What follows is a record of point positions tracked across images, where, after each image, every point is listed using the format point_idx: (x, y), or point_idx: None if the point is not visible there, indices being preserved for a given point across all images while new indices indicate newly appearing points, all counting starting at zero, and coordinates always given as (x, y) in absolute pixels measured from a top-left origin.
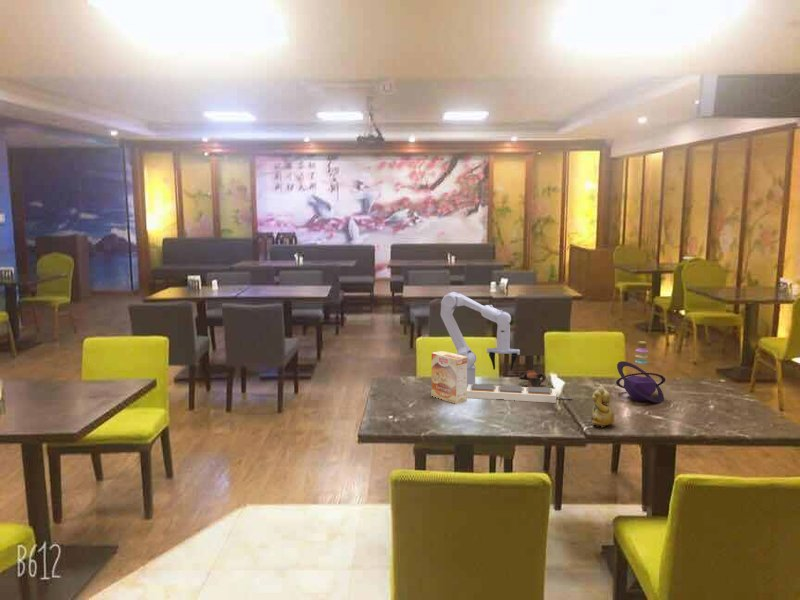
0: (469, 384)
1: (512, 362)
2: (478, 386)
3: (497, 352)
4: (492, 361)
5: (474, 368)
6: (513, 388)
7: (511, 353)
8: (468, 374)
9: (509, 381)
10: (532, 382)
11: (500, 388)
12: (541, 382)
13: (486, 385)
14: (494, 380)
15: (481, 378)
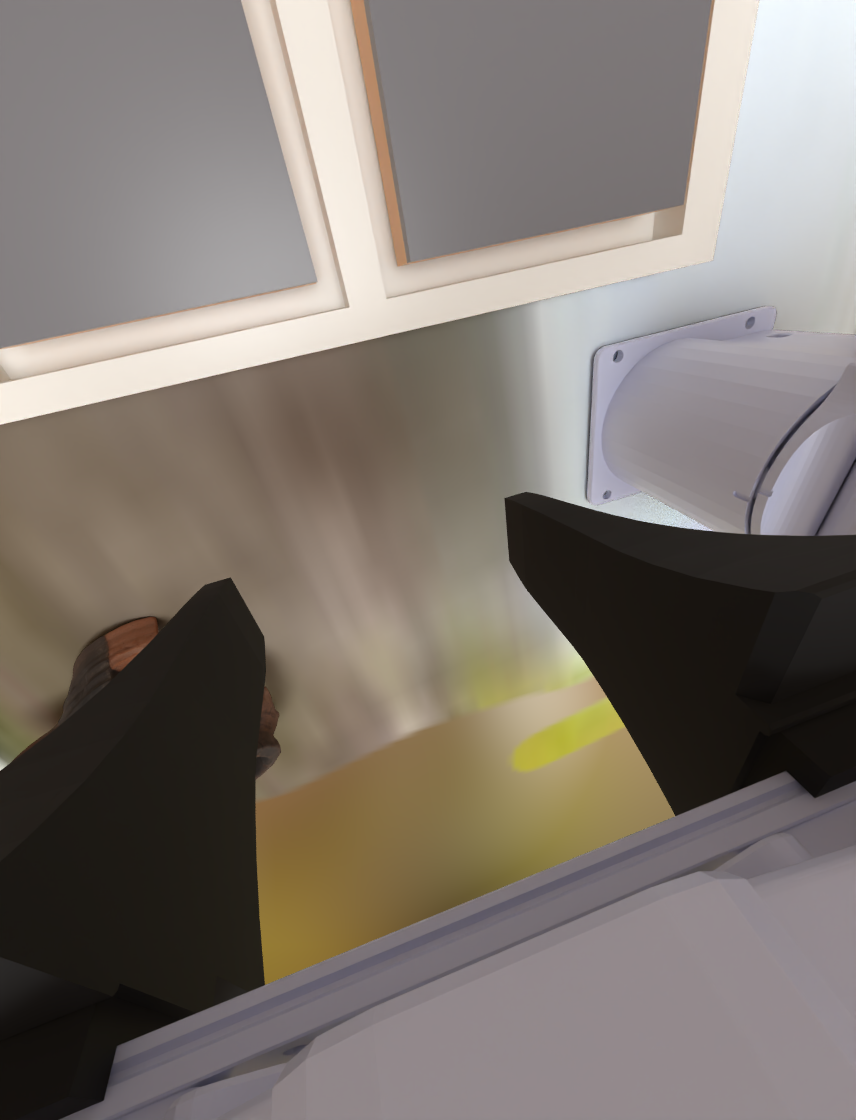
0: (702, 257)
1: (125, 691)
2: (621, 44)
3: (713, 850)
4: (649, 528)
5: (777, 457)
6: (15, 141)
7: (141, 1066)
8: (790, 361)
9: (371, 684)
10: (95, 674)
11: (243, 39)
12: (49, 732)
13: (510, 177)
14: (474, 654)
15: (560, 649)
